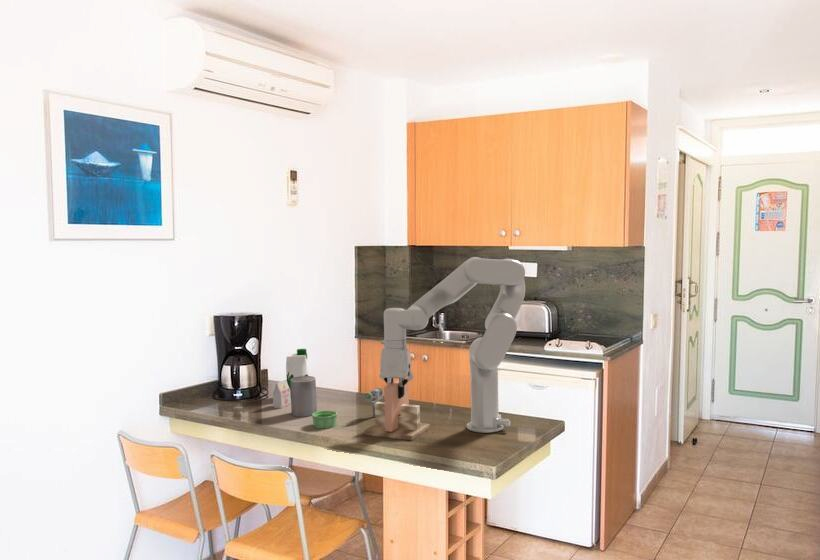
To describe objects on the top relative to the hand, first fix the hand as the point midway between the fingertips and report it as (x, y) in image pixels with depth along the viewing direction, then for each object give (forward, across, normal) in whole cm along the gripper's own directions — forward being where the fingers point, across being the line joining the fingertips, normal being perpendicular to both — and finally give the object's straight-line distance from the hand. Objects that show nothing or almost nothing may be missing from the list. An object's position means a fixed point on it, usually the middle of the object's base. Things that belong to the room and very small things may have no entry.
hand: (396, 396), depth 239 cm
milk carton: (+12, -62, +32) cm, 71 cm away
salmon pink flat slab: (+10, 0, 0) cm, 10 cm away
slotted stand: (+12, 0, 0) cm, 12 cm away
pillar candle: (+12, -44, +9) cm, 47 cm away
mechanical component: (+12, -16, +14) cm, 25 cm away
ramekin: (+13, -28, -2) cm, 31 cm away
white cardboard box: (+12, -59, +16) cm, 62 cm away
